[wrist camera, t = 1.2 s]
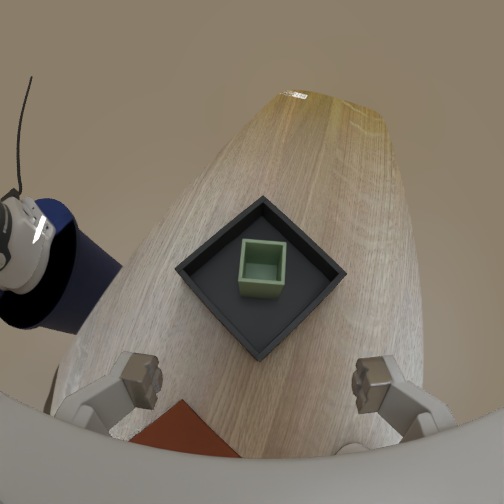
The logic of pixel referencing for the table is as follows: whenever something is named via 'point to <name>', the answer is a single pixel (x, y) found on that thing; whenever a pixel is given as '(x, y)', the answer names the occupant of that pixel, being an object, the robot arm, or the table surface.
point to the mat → (183, 434)
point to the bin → (259, 309)
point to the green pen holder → (262, 268)
